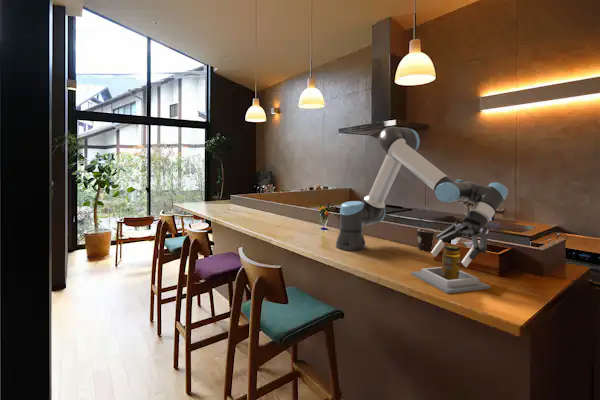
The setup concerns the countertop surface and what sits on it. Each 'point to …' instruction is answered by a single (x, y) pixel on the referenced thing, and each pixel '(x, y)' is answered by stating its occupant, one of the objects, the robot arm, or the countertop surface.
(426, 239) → the coffee mug
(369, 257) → the countertop surface
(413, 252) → the countertop surface
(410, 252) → the countertop surface
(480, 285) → the tray
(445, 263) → the condiment
